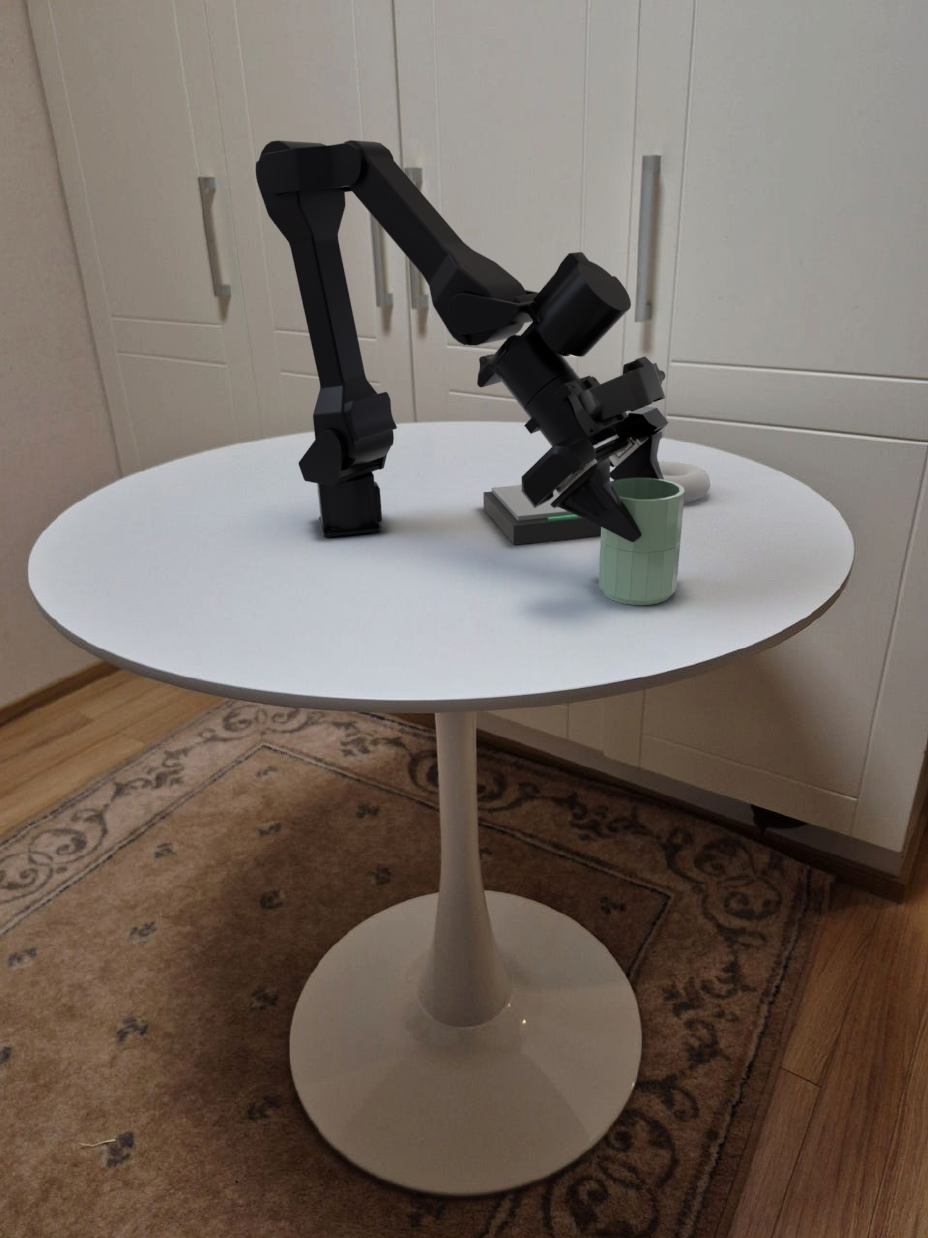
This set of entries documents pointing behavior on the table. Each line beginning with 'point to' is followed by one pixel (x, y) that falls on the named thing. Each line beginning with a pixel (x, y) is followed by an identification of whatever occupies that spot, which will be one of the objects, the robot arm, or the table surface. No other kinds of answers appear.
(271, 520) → the table surface
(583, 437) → the robot arm
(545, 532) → the scale
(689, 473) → the donut
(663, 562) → the pale green cup
